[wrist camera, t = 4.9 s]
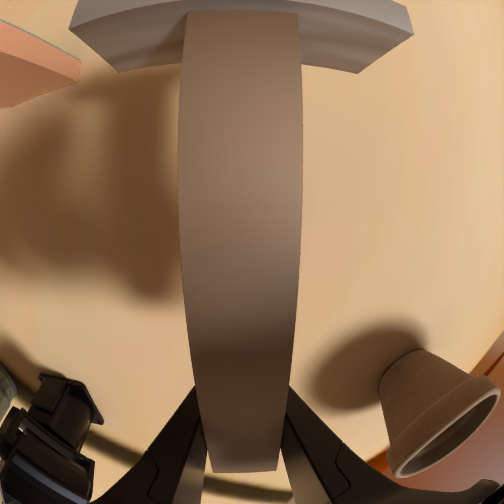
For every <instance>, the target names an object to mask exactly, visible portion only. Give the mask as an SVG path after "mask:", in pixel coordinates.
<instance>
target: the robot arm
mask: <svg viewBox="0 0 504 504" xmlns="http://www.w3.org/2000/svg"><path fill="white" fill-rule="evenodd" d="M38 379H39V380H40V382H41V384H42V385H41V386H40V388H39V390H38V391H37V393H36V394H35V396H34V398H33V399H32V401H31V404H32V405H31V407H30V409H29V411H28V412H27V411H26V410H25V409H24V408H23V407H22V408H21V409H18V408H16V407H14V406H13V407H12V408H11V410H10V411H9V413H8V415H7V416H6V418H5V420H4V422H3V423H2V425H1V427H0V458H1V460H0V491H1V495H2V499H3V501H2V504H200V503H201V495H202V487H203V479H204V472H205V464H206V457H207V445H206V440H205V435H204V431H203V426H202V421H201V415H200V410H199V405H198V399H197V393H196V387H195V386H194V387H193V388H192V389H191V391H190V392H189V394H188V395H187V396H186V398H185V399H184V400H183V402H182V403H181V405H180V406H179V407H178V409H177V410H176V411H175V413H174V414H173V415H172V417H171V418H170V419H169V421H168V422H167V424H166V425H165V426H164V428H163V429H162V430H161V432H160V433H159V434H158V436H157V437H156V438H155V439H154V441H153V442H152V443H151V445H150V446H149V447H148V450H146V451H145V452H144V454H143V455H142V456H141V458H140V459H139V460H138V461H137V462H136V464H135V465H134V466H133V467H132V468H131V469H130V470H129V471H128V472H127V473H126V474H125V475H124V476H123V477H122V478H121V479H120V480H119V481H118V482H117V483H115V484H114V485H113V486H112V487H111V488H110V489H109V490H108V491H107V492H105V493H104V494H103V495H102V496H101V497H99V498H98V499H96V500H94V501H92V502H90V500H91V497H92V492H93V478H94V467H95V461H93V460H92V459H89V458H87V457H85V456H84V455H82V454H81V453H80V451H81V448H82V446H83V443H84V440H85V438H86V435H87V432H88V430H89V427H90V425H91V423H95V424H99V425H103V424H104V420H103V418H102V416H101V415H100V413H99V411H98V409H97V408H96V406H95V404H94V402H93V400H92V399H91V397H90V395H89V393H88V391H87V389H86V387H85V386H84V385H83V384H81V383H77V382H72V381H68V380H64V379H60V378H56V377H52V376H48V375H45V374H41V373H40V374H39V375H38ZM19 427H20V428H21V429H22V430H23V432H22V431H21V430H19V429H18V428H19ZM280 448H281V452H282V456H283V459H284V463H285V467H286V470H287V474H288V478H289V481H290V485H291V488H292V492H293V496H294V499H295V502H296V504H504V484H503V485H502V486H500V484H499V483H497V482H495V481H493V480H487V479H482V480H480V481H479V482H477V483H476V484H475V485H473V486H472V487H471V488H469V489H467V490H464V491H461V492H439V491H428V490H420V489H413V488H408V487H404V486H401V485H399V484H397V483H396V482H394V481H392V480H391V479H389V478H388V477H386V476H385V475H383V474H382V473H380V472H379V471H377V470H376V469H375V468H373V467H372V466H370V465H369V464H368V463H366V462H365V461H364V460H362V459H361V458H360V457H359V456H357V455H356V454H355V453H354V452H353V451H352V450H351V449H350V448H349V447H348V446H347V445H346V444H345V443H342V440H341V439H340V438H339V437H338V436H337V435H336V434H335V433H334V432H333V431H332V430H331V429H330V428H329V427H328V426H327V425H326V424H325V423H324V422H323V421H322V420H321V419H320V418H319V417H318V416H317V415H316V414H315V413H314V412H313V411H312V410H311V408H310V407H309V406H308V405H307V404H306V403H305V402H304V401H303V400H302V399H301V398H300V397H299V396H298V394H297V393H296V392H295V391H294V390H293V389H292V388H291V387H290V386H289V388H288V397H287V404H286V412H285V419H284V426H283V433H282V439H281V446H280ZM499 486H500V487H499ZM498 487H499V488H498ZM497 488H498V489H497ZM89 502H90V503H89Z"/></svg>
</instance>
